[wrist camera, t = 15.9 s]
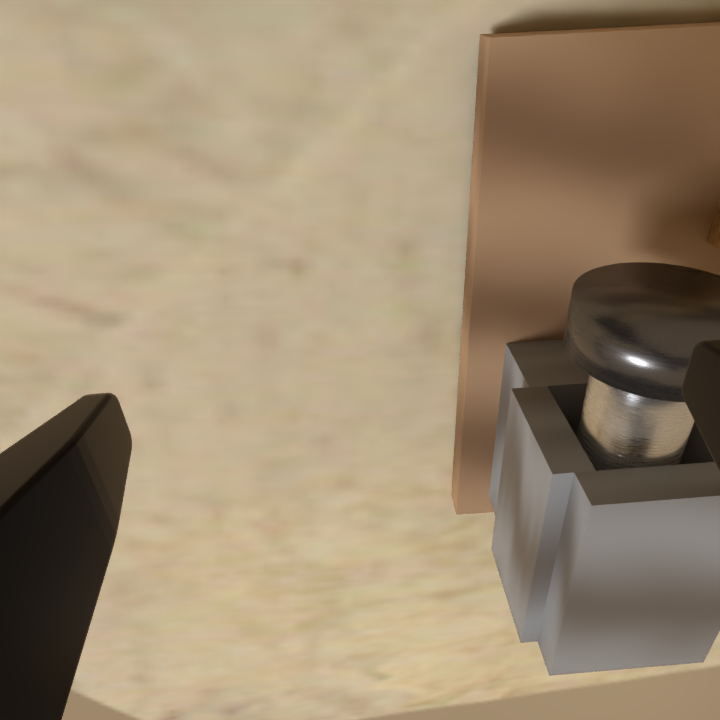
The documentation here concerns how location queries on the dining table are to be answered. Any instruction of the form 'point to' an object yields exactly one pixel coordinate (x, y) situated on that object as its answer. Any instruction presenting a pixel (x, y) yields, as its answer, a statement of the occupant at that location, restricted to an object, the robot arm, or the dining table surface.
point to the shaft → (638, 358)
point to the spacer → (715, 229)
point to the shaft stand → (547, 327)
